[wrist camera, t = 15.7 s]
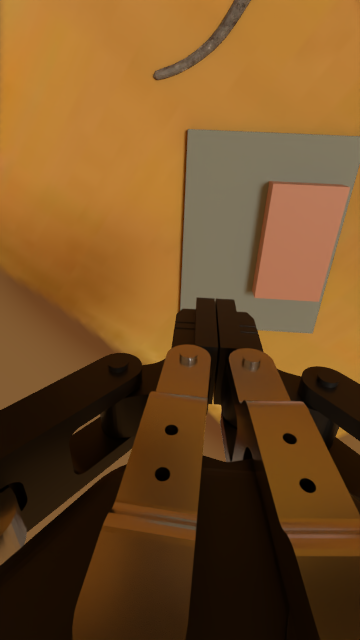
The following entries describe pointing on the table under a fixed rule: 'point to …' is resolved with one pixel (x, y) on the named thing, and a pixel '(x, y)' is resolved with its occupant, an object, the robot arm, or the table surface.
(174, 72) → the pliers
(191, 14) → the table surface
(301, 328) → the mat
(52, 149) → the table surface
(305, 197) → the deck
